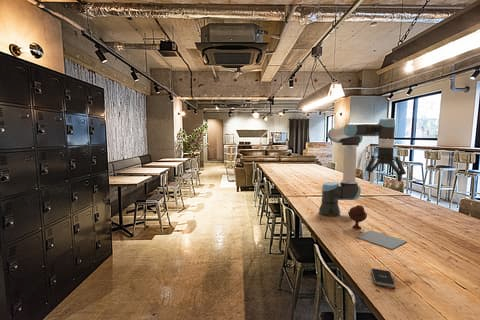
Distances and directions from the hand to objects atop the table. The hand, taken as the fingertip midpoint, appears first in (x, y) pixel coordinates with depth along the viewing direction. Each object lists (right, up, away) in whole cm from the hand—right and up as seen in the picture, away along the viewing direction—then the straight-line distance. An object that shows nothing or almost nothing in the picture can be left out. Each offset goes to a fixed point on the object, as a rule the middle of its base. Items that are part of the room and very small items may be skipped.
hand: (383, 185), depth 141 cm
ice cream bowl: (-6, -29, +21) cm, 36 cm away
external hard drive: (-22, -35, -38) cm, 56 cm away
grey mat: (-1, -31, +2) cm, 31 cm away
